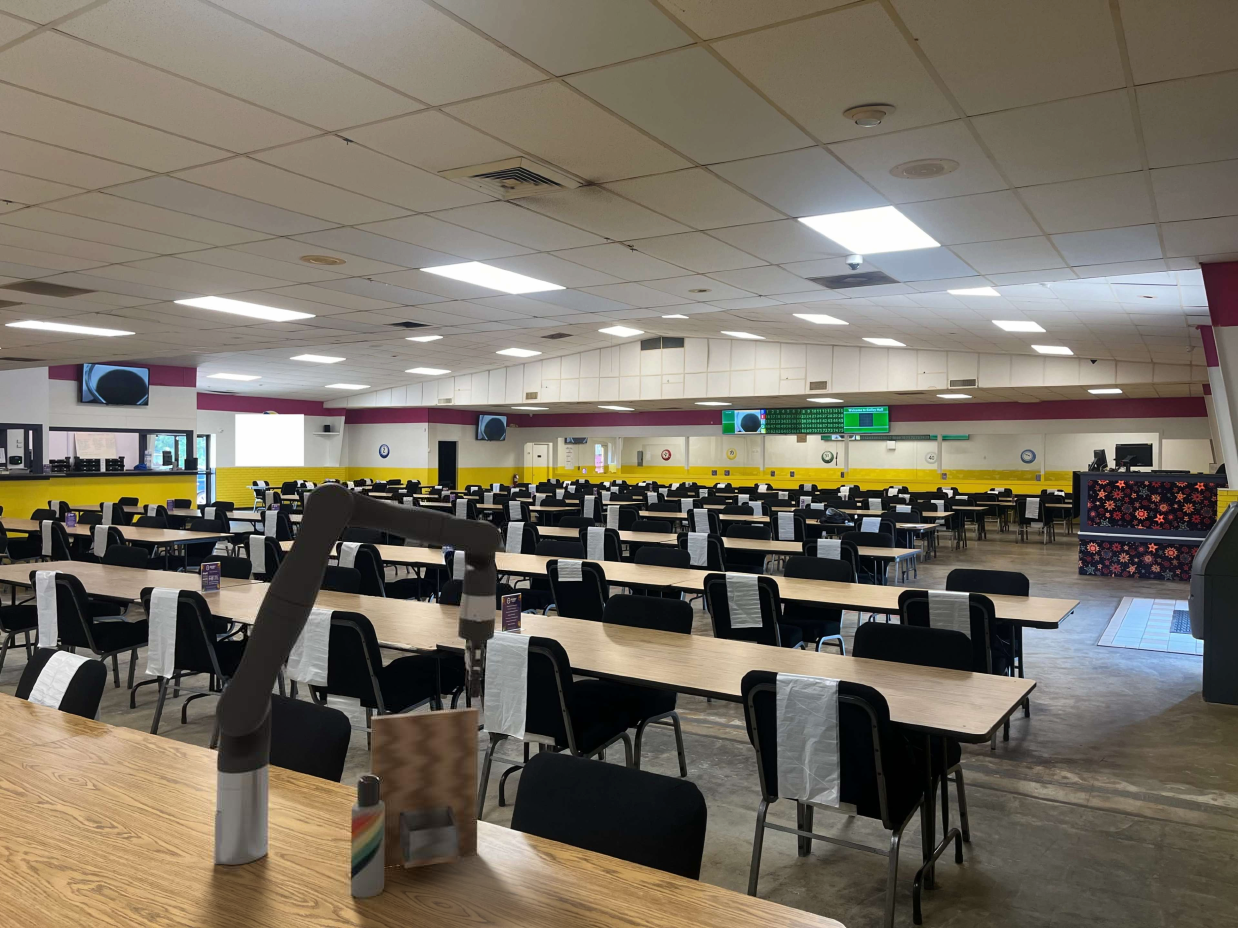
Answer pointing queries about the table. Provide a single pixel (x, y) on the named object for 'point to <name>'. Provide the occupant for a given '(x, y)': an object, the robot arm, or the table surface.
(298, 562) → the robot arm
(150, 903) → the table surface
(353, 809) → the lotion bottle
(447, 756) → the bracket
